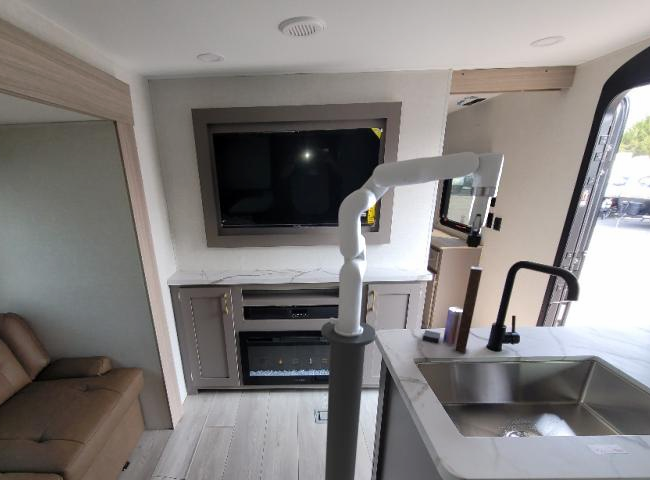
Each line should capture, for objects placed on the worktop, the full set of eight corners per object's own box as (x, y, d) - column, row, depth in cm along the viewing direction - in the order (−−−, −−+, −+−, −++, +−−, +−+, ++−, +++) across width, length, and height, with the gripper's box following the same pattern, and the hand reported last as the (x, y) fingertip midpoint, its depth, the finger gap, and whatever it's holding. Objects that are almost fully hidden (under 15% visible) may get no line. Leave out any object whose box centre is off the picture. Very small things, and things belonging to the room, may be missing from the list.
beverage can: (440, 342, 136) (446, 309, 131) (446, 337, 140) (452, 305, 134) (454, 347, 132) (461, 313, 127) (461, 342, 136) (467, 309, 130)
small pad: (466, 243, 116) (467, 235, 115) (466, 241, 119) (468, 233, 118) (480, 245, 114) (481, 236, 113) (480, 243, 117) (482, 234, 116)
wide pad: (422, 340, 138) (423, 335, 137) (424, 334, 142) (425, 330, 142) (437, 343, 135) (438, 338, 134) (439, 338, 140) (440, 333, 139)
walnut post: (454, 351, 129) (470, 268, 117) (455, 347, 132) (471, 266, 120) (464, 353, 127) (482, 269, 115) (465, 349, 130) (482, 267, 118)
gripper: (472, 191, 119) (463, 241, 125) (469, 193, 105) (459, 249, 112) (496, 191, 115) (485, 242, 122) (496, 194, 102) (484, 251, 108)
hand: (472, 245), depth 117 cm, fingers closed on small pad, 4 cm apart
